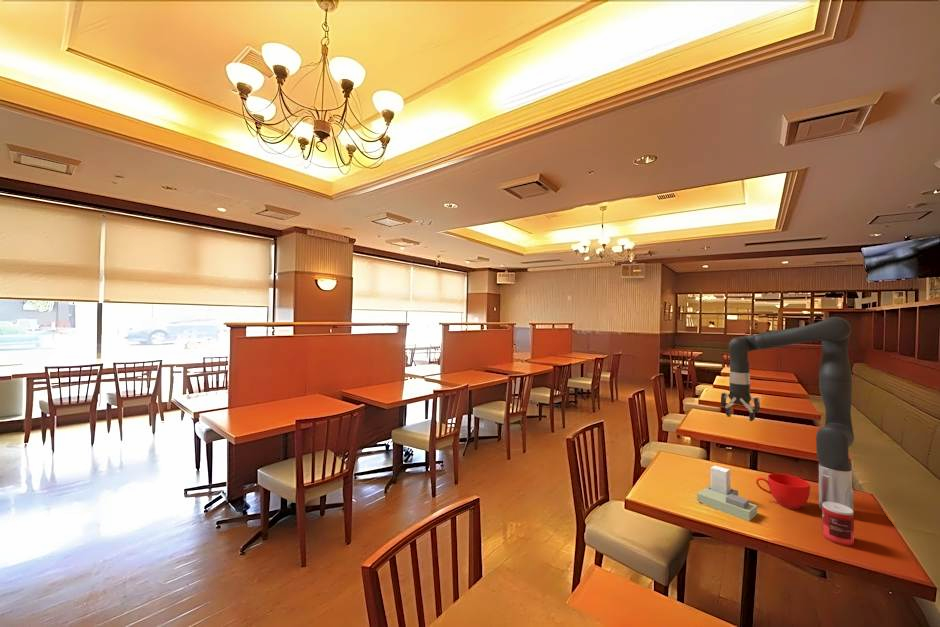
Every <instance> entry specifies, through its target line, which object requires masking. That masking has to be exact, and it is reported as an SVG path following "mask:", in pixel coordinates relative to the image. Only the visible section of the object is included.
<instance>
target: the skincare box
mask: <svg viewBox="0 0 940 627" xmlns="http://www.w3.org/2000/svg"><path fill="white" fill-rule="evenodd" d="M710 485H711V490H713V491H716V492H719V493H722V494H725V495H728V494H730V488H731V469H729V468H725V467H722V466H718V465H713V466H711V467H710Z"/></svg>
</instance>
